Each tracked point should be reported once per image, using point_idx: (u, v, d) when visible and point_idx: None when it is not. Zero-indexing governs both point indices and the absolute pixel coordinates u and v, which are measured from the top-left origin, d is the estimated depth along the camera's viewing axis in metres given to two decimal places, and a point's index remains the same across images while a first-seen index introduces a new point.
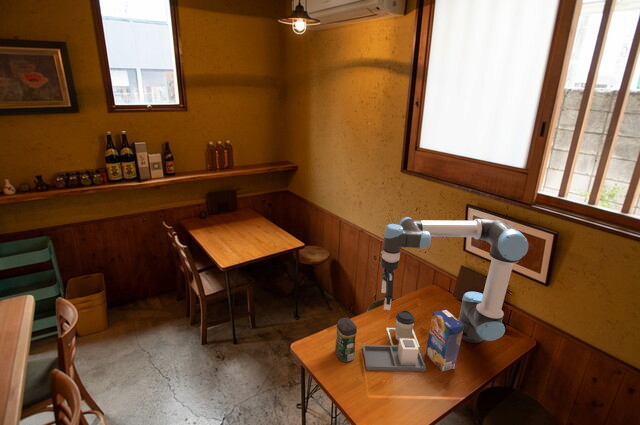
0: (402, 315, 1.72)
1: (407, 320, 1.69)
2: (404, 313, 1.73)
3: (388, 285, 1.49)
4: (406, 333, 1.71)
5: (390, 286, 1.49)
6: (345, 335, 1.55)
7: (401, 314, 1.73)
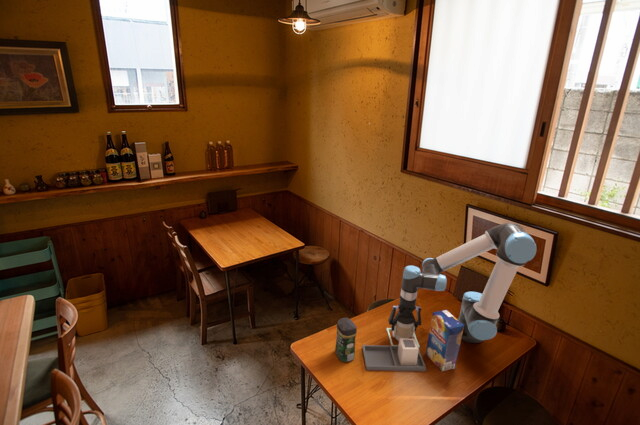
0: None
1: (407, 320, 1.69)
2: None
3: (391, 312, 1.72)
4: (406, 333, 1.71)
5: (391, 314, 1.71)
6: (345, 335, 1.55)
7: None
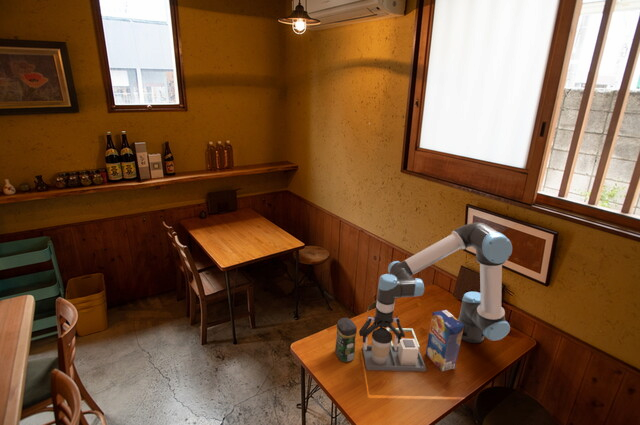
0: (378, 333, 1.57)
1: (383, 339, 1.54)
2: (381, 331, 1.59)
3: (365, 323, 1.56)
4: (383, 353, 1.56)
5: (364, 325, 1.55)
6: (345, 335, 1.55)
7: (377, 332, 1.58)
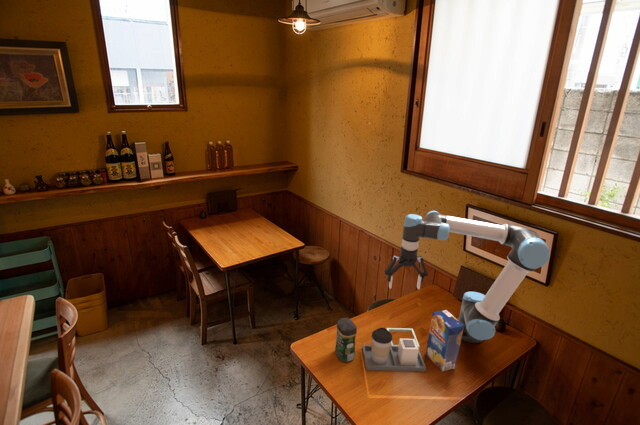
0: (378, 333, 1.57)
1: (383, 339, 1.54)
2: (381, 331, 1.59)
3: (390, 263, 1.65)
4: (383, 353, 1.56)
5: (390, 264, 1.64)
6: (345, 335, 1.55)
7: (377, 332, 1.58)
